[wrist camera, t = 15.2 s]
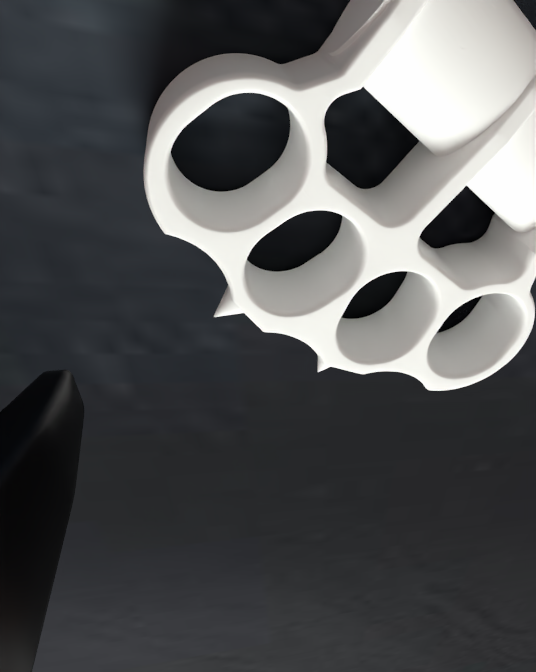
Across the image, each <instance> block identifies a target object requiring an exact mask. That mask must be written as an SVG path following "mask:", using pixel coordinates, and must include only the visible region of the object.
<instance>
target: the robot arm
mask: <svg viewBox="0 0 536 672" xmlns="http://www.w3.org/2000/svg"><path fill="white" fill-rule="evenodd" d="M83 419H84V405H83V401H82V399H81V396H80V393H79V391H78V388H77V385H76V383H75V380H74V377H73V375H72V374H71V372H70V371H67V370H56V371H46V372H44V373H42V374H41V375H40V376H39V377H38V378H37V379H35V380H34V381H33V382H32V383H31V384H30V385H29V386H28V387H27V388H26V389H25V390H24V391H23V392H22V393H20V394H19V395H18V396H17V397H16V398H15V399H14V400H13V401H12V402H11V403H10V404H9V405H8V406H6V407H5V408H4V409H3V410H2V411H1V412H0V672H32V669H33V665H34V661H35V656H36V652H37V648H38V644H39V640H40V636H41V632H42V628H43V623H44V619H45V615H46V611H47V607H48V603H49V599H50V594H51V590H52V586H53V582H54V578H55V574H56V570H57V566H58V561H59V557H60V553H61V549H62V545H63V541H64V537H65V533H66V528H67V524H68V520H69V516H70V512H71V508H72V503H73V498H74V493H75V486H76V479H77V470H78V462H79V453H80V445H81V436H82V428H83Z"/></svg>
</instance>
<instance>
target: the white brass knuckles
mask: <svg viewBox="0 0 536 672" xmlns="http://www.w3.org/2000/svg"><path fill="white" fill-rule="evenodd" d="M362 87H364V88H365V89H366V90H367V91H368V92H369V93H370V94H371V95H372V96H373V97H374V98H375V99H377V100H378V101H379V102H380V103H381V104H382V105H383V106H384V107H385V108H386V109H387V110H388V111H389V112H390V113H391V114H392V115H393V116H394V117H395V118H396V119H397V120H398V121H400V122H401V123H402V124H403V125H404V126H405V127H406V128H407V129H408V130H409V131H410V132H411V133H412V134H413V135H414V136H415V137H416V138H417V139H418V140H419V142H418V143H417V144H416V145H415V146H414V148H413V149H412V150H411V151H410V152H409V153H408V154H407V155H406V156H405V158H404V159H403V160H402V161H401V162H400V163H399V164H398V165H397V166H396V168H395V169H394V170H393V171H392V172H391V173H390V174H389V175H388V176H387V178H386V179H385V180H384V181H383V182H382V183H381V184H379V185H378V186H376V187H374V188H370V189H361V188H358V187H356V186H355V185H354V184H352V183H351V182H350V181H349V180H347V179H346V178H345V177H344V176H343V175H341V174H340V173H339V172H338V171H336V170H335V169H334V168H333V167H331V166H330V165H329V164H328V163H326V159H327V137H326V131H325V126H324V118H325V114H326V111H327V109H328V107H329V106H330V104H331V103H332V102H333V101H334V100H335V99H336V98H338V97H340V96H342V95H344V94H347V93H350V92H353V91H356V90H359V89H361V88H362ZM238 93H259V94H263V95H267V96H270V97H272V98H274V99H276V100H278V101H279V102H281V103H282V104H284V105H285V106H286V107H287V108H288V112H289V116H290V134H289V139H288V142H287V145H286V148H285V150H284V152H283V154H282V155H281V157H280V158H279V159H278V161H277V162H276V163H275V164H274V165H273V166H272V167H271V168H269V169H268V170H267V171H265V172H264V173H263V174H261V175H260V176H259V177H257V178H256V179H255V180H253V181H252V182H250V183H249V184H247V185H246V186H244V187H241V188H239V189H236V190H232V191H224V192H218V191H211V190H207V189H204V188H201V187H199V186H197V185H195V184H193V183H192V182H191V181H189V180H188V179H187V178H186V177H185V176H184V175H183V174H182V173H181V172H180V171H179V169H178V168H177V166H176V164H175V162H174V160H173V158H172V155H171V149H172V146H173V144H174V142H175V140H176V138H177V136H178V135H179V134H180V132H181V131H182V130H183V129H184V128H185V127H186V126H187V125H188V124H189V123H190V122H191V121H192V120H194V119H195V118H196V117H197V116H199V115H200V114H201V113H202V112H204V111H205V110H206V109H207V108H209V107H210V106H211V105H213V104H214V103H216V102H217V101H219V100H221V99H223V98H225V97H227V96H230V95H234V94H238ZM466 185H467V186H468V187H469V188H470V189H471V190H472V191H473V192H474V193H475V194H476V195H477V196H478V197H479V198H480V199H481V200H482V201H483V202H484V203H485V204H486V205H487V206H489V207H490V208H491V209H492V210H493V211H494V212H495V214H494V215H493V216H492V219H491V222H490V225H489V227H488V230H487V231H486V233H485V234H484V235H483V236H482V237H481V238H479V239H478V240H476V241H474V242H471V243H458V244H452V245H448V246H445V247H442V248H432V247H430V246H429V245H428V244H426V243H425V242H424V241H423V240H421V239H420V238H419V237H420V235H421V233H422V231H423V230H424V228H425V227H426V226H427V225H428V224H429V223H430V222H431V221H432V220H433V219H434V218H435V217H436V216H437V215H438V214H439V213H440V212H441V211H442V210H443V209H444V208H445V207H446V206H447V205H448V204H449V203H450V202H451V201H452V200H453V199H454V198H455V197H456V196H457V195H458V194H459V193H460V192H461V191H462V190H463V189H464V188H465V186H466ZM144 186H145V192H146V196H147V200H148V203H149V206H150V209H151V211H152V213H153V216H154V217H155V219H156V221H157V223H158V224H159V226H160V228H161V229H162V230H163V232H164V233H165V234H167V235H171V236H175V237H178V238H181V239H183V240H185V241H188V242H190V243H192V244H194V245H195V246H197V247H199V248H200V249H201V250H203V251H204V252H205V253H207V254H208V255H209V256H210V257H211V258H212V259H213V260H214V261H215V262H216V263H217V265H218V266H219V267H220V269H221V270H222V272H223V273H224V275H225V277H226V280H227V282H228V287H227V289H226V291H225V293H224V295H223V297H222V300H221V302H220V304H219V306H218V308H217V310H216V312H215V314H214V317H218V316H225V315H233V314H240V313H245V314H246V315H247V316H248V317H249V318H250V319H251V320H252V321H253V322H254V323H255V324H256V325H257V326H258V327H259V328H260V329H261V330H262V331H263V332H273V333H280V334H285V335H289V336H292V337H295V338H297V339H299V340H301V341H303V342H305V343H306V344H308V345H309V346H310V347H311V348H312V349H313V350H314V351H315V352H316V353H317V355H318V372H320V371H322V370H324V369H326V368H328V367H335V368H339V369H343V370H347V371H351V372H355V373H359V374H367V373H372V372H379V371H395V372H401V373H405V374H408V375H411V376H413V377H415V378H417V379H418V380H419V381H421V382H422V383H423V385H424V386H425V388H426V389H428V390H434V391H442V390H451V389H457V388H461V387H465V386H468V385H471V384H473V383H476V382H478V381H480V380H482V379H484V378H486V377H488V376H490V375H491V374H493V373H495V372H496V371H498V370H499V369H500V368H502V367H503V366H504V365H505V364H507V363H508V362H509V361H510V360H511V359H512V358H513V357H514V356H515V355H516V354H517V353H518V351H519V350H520V349H521V347H522V346H523V345H524V343H525V342H526V340H527V338H528V336H529V334H530V332H531V329H532V326H533V323H534V317H535V306H534V301H533V298H532V295H531V293H530V289H531V286H532V284H533V282H534V279H535V277H536V30H535V29H534V28H533V26H532V25H531V23H530V22H529V21H528V19H527V18H526V17H525V15H524V14H523V13H522V11H521V10H520V9H519V7H518V6H517V5H516V3H515V2H514V0H350V2H349V3H348V5H347V7H346V8H345V10H344V11H343V13H342V15H341V16H340V18H339V20H338V22H337V24H336V25H335V27H334V29H333V31H332V33H331V34H330V35H329V37H328V38H327V40H326V41H325V42H324V44H323V45H322V46H321V48H320V49H319V50H318V52H316V53H314V54H312V55H309V56H306V57H303V58H300V59H297V60H294V61H291V62H288V63H285V64H277V63H275V62H273V61H271V60H268V59H266V58H263V57H260V56H256V55H251V54H244V53H228V54H221V55H216V56H212V57H209V58H206V59H203V60H201V61H199V62H197V63H195V64H193V65H191V66H190V67H188V68H186V69H185V70H184V71H182V72H181V73H180V74H179V75H178V76H176V77H175V78H174V79H173V80H172V81H171V83H170V84H169V85H168V86H167V87H166V89H165V90H164V91H163V93H162V94H161V96H160V98H159V99H158V101H157V103H156V105H155V108H154V110H153V113H152V116H151V119H150V123H149V127H148V134H147V142H146V150H145V158H144ZM315 210H325V211H331V212H335V213H338V214H340V215H342V223H341V227H340V230H339V232H338V234H337V236H336V238H335V239H334V240H333V242H332V243H331V244H330V245H329V246H328V247H327V248H326V249H325V250H324V251H323V252H321V253H320V254H318V255H317V256H315V257H314V258H312V259H311V260H309V261H308V262H306V263H304V264H303V265H301V266H299V267H297V268H294V269H291V270H287V271H279V272H275V271H267V270H263V269H260V268H258V267H256V266H254V265H253V264H251V263H250V262H249V261H248V260H247V257H248V255H249V253H250V251H251V250H252V248H253V247H254V246H255V244H256V243H257V242H258V241H259V240H260V239H261V238H262V237H264V236H265V235H266V234H268V233H269V232H271V231H272V230H273V229H275V228H276V227H278V226H279V225H281V224H282V223H283V222H285V221H286V220H288V219H290V218H292V217H294V216H296V215H298V214H301V213H304V212H308V211H315ZM397 271H408V272H407V275H406V277H405V279H404V281H403V283H402V284H401V286H400V287H399V289H398V291H397V292H396V294H395V295H394V297H393V298H392V299H391V301H390V302H389V303H388V304H387V305H386V306H384V307H383V308H382V309H380V310H379V311H377V312H375V313H373V314H371V315H369V316H366V317H362V318H356V319H346V318H341V317H342V315H343V313H344V311H345V310H346V308H347V306H348V304H349V303H350V301H351V299H352V298H353V296H354V295H355V294H356V293H357V292H358V291H359V290H360V289H361V288H362V287H363V286H364V285H365V284H367V283H368V282H370V281H371V280H373V279H375V278H377V277H379V276H381V275H384V274H387V273H391V272H397ZM482 295H483V296H482ZM479 296H482V298H481V299H480V300H479V302H478V303H477V304H476V306H475V307H474V308H473V310H472V311H471V312H470V314H469V315H468V316H467V317H466V318H465V319H464V320H463V321H461V322H460V323H459V324H457V325H456V326H454V327H452V328H450V329H448V330H445V331H443V332H439V333H437V331H438V330H439V329H440V327H441V326H442V324H443V323H444V321H445V320H446V319H447V318H448V316H449V315H450V314H451V313H452V312H453V311H455V310H456V309H457V308H458V307H460V306H461V305H463V304H464V303H466V302H468V301H470V300H472V299H474V298H476V297H479Z"/></svg>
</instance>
